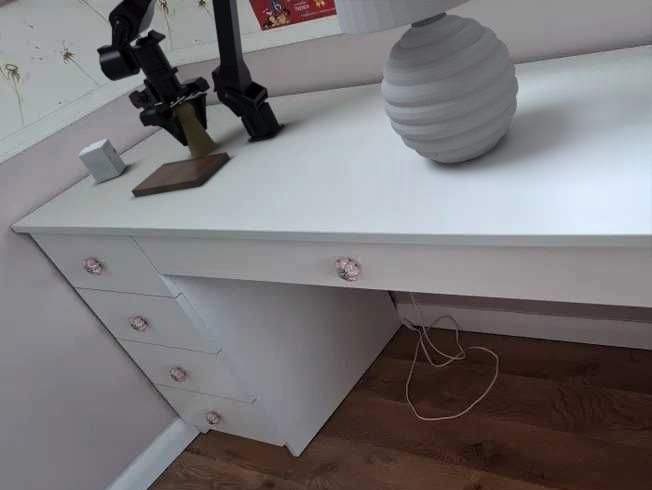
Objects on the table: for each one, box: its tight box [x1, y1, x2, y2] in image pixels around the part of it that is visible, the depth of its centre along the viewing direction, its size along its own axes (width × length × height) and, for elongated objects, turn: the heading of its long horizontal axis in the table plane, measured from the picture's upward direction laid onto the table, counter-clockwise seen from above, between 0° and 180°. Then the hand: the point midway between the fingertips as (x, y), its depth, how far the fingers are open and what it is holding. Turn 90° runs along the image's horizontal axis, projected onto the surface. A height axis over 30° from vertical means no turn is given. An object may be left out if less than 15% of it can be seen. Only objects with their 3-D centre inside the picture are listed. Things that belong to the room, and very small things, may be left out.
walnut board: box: [131, 151, 231, 198], centre depth 139 cm, size 18×12×2 cm, turn 74°
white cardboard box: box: [77, 138, 127, 184], centre depth 154 cm, size 6×6×7 cm
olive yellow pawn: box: [172, 102, 218, 158], centre depth 146 cm, size 6×6×11 cm
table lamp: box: [333, 0, 520, 164], centre depth 95 cm, size 25×25×40 cm
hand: (196, 137), depth 147 cm, fingers closed on olive yellow pawn, 8 cm apart
